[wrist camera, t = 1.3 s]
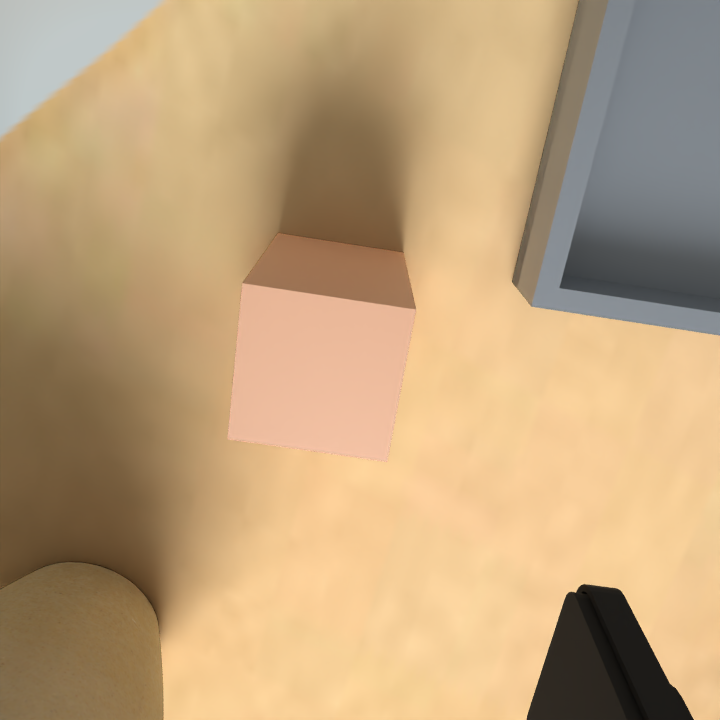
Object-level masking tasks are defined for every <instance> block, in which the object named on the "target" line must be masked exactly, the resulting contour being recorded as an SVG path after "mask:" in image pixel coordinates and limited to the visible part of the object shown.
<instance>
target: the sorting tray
mask: <svg viewBox="0 0 720 720" xmlns="http://www.w3.org/2000/svg"><path fill="white" fill-rule="evenodd" d="M512 283H513V284H514V285H515V286H516V288H517V289H518V290H519V292H520V293H521V294H522V295H523V297H524V298H525V299H526V300H527V302H528V303H529V304H530V305H531V307H538V308H544V309H551V310H557V311H564V312H570V313H577V314H584V315H590V316H597V317H603V318H610V319H616V320H623V321H629V322H636V323H642V324H649V325H655V326H662V327H668V328H675V329H682V330H688V331H695V332H701V333H708V334H714V335H720V0H579V3H578V7H577V12H576V16H575V20H574V24H573V28H572V32H571V37H570V41H569V45H568V49H567V53H566V58H565V62H564V66H563V70H562V74H561V79H560V83H559V87H558V91H557V95H556V100H555V104H554V108H553V112H552V116H551V121H550V125H549V129H548V133H547V137H546V142H545V146H544V150H543V154H542V158H541V163H540V167H539V171H538V175H537V179H536V184H535V188H534V192H533V196H532V200H531V205H530V209H529V213H528V217H527V221H526V225H525V230H524V234H523V238H522V242H521V246H520V251H519V255H518V259H517V263H516V267H515V272H514V276H513V280H512Z"/></svg>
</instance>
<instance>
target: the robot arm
mask: <svg viewBox="0 0 720 720" xmlns="http://www.w3.org/2000/svg"><path fill="white" fill-rule="evenodd" d="M527 720H694V719H693V717H692V716H691V714H690V712H689V710H688V708H687V706H686V704H685V702H684V700H683V698H682V697H681V695H680V694H679V692H678V691H677V690H676V688H675V687H673V686H672V685H670V683H669V681H668V679H667V677H666V676H665V674H664V672H663V670H662V668H661V666H660V664H659V662H658V660H657V658H656V656H655V654H654V652H653V650H652V648H651V647H650V645H649V643H648V641H647V639H646V637H645V635H644V633H643V631H642V629H641V627H640V625H639V623H638V621H637V620H636V618H635V616H634V614H633V612H632V610H631V608H630V606H629V604H628V602H627V600H626V598H625V596H624V595H623V593H622V592H621V591H620V590H619V589H616V588H609V587H601V586H594V585H586V584H584V585H581V586H580V587H579V588H578V590H577V592H576V593H575V592H569V593H568V594H567V595H566V598H565V600H564V603H563V606H562V610H561V613H560V616H559V619H558V622H557V625H556V628H555V631H554V634H553V637H552V641H551V644H550V647H549V650H548V653H547V656H546V659H545V662H544V665H543V668H542V671H541V675H540V678H539V681H538V684H537V687H536V690H535V693H534V696H533V699H532V702H531V706H530V709H529V712H528V715H527Z"/></svg>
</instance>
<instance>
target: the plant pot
mask: <svg viewBox="0 0 720 720" xmlns="http://www.w3.org/2000/svg"><path fill="white" fill-rule="evenodd" d="M163 715H164V713H163V674H162V658H161V644H160V635H159V627H158V621H157V617H156V614H155V612H154V610H153V607H152V605H151V604H150V602H149V601H148V599H147V598H146V597H145V595H144V594H143V593H142V592H141V591H140V590H139V589H138V588H137V587H136V586H135V585H134V584H133V583H131V582H130V581H129V580H128V579H126V578H125V577H123V576H121V575H119V574H117V573H116V572H114V571H112V570H109V569H106V568H104V567H101V566H97V565H93V564H88V563H80V562H64V563H57V564H52V565H49V566H45V567H43V568H40V569H38V570H36V571H34V572H32V573H30V574H28V575H26V576H24V577H22V578H21V579H19V580H17V581H15V582H13V583H11V584H9V585H7V586H5V587H4V588H2V589H0V720H163Z"/></svg>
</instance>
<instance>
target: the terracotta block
mask: <svg viewBox="0 0 720 720" xmlns="http://www.w3.org/2000/svg"><path fill="white" fill-rule="evenodd" d="M415 313H416V307H415V302H414V298H413V293H412V289H411V284H410V280H409V275H408V271H407V267H406V262H405V258H404V253H403V252H397V251H391V250H385V249H378V248H372V247H365V246H359V245H352V244H346V243H340V242H333V241H327V240H320V239H314V238H307V237H301V236H294V235H288V234H282V233H277V235H276V236H275V238H274V239H273V241H272V242H271V243H270V245H269V246H268V248H267V249H266V250H265V252H264V253H263V255H262V256H261V257H260V259H259V260H258V262H257V263H256V264H255V266H254V267H253V269H252V270H251V272H250V273H249V274H248V276H247V277H246V279H245V280H244V281H243V283H242V291H241V301H240V312H239V322H238V333H237V344H236V354H235V365H234V375H233V386H232V397H231V407H230V418H229V428H228V439H229V440H236V441H243V442H250V443H257V444H264V445H271V446H278V447H285V448H292V449H300V450H307V451H314V452H321V453H328V454H335V455H342V456H349V457H356V458H363V459H370V460H377V461H384V462H387V460H388V455H389V450H390V445H391V439H392V434H393V429H394V424H395V418H396V413H397V408H398V403H399V397H400V392H401V387H402V381H403V376H404V371H405V366H406V360H407V355H408V350H409V345H410V339H411V334H412V329H413V324H414V318H415Z"/></svg>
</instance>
